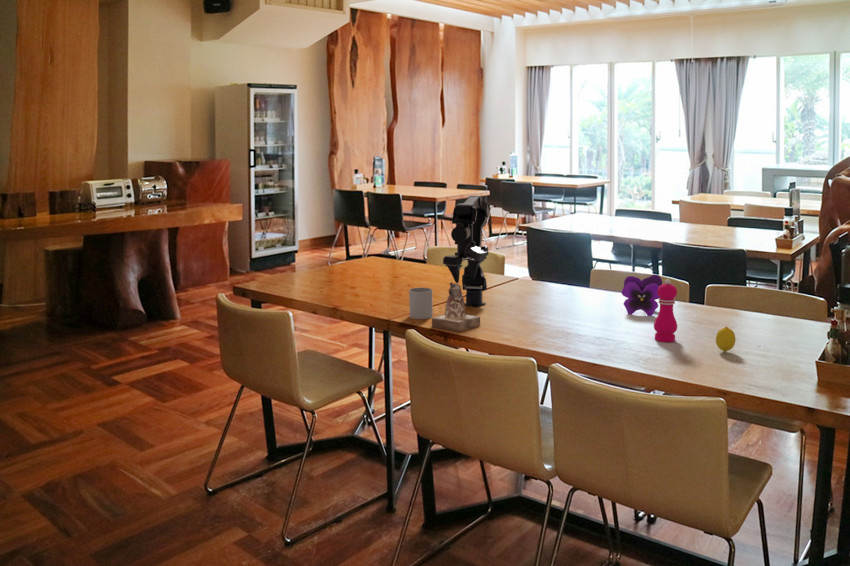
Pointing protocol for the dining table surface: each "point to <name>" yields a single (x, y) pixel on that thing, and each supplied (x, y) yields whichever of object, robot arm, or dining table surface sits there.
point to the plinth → (456, 323)
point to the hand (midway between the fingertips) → (465, 280)
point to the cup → (420, 303)
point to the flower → (641, 294)
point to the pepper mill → (666, 313)
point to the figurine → (455, 303)
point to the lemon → (725, 339)
